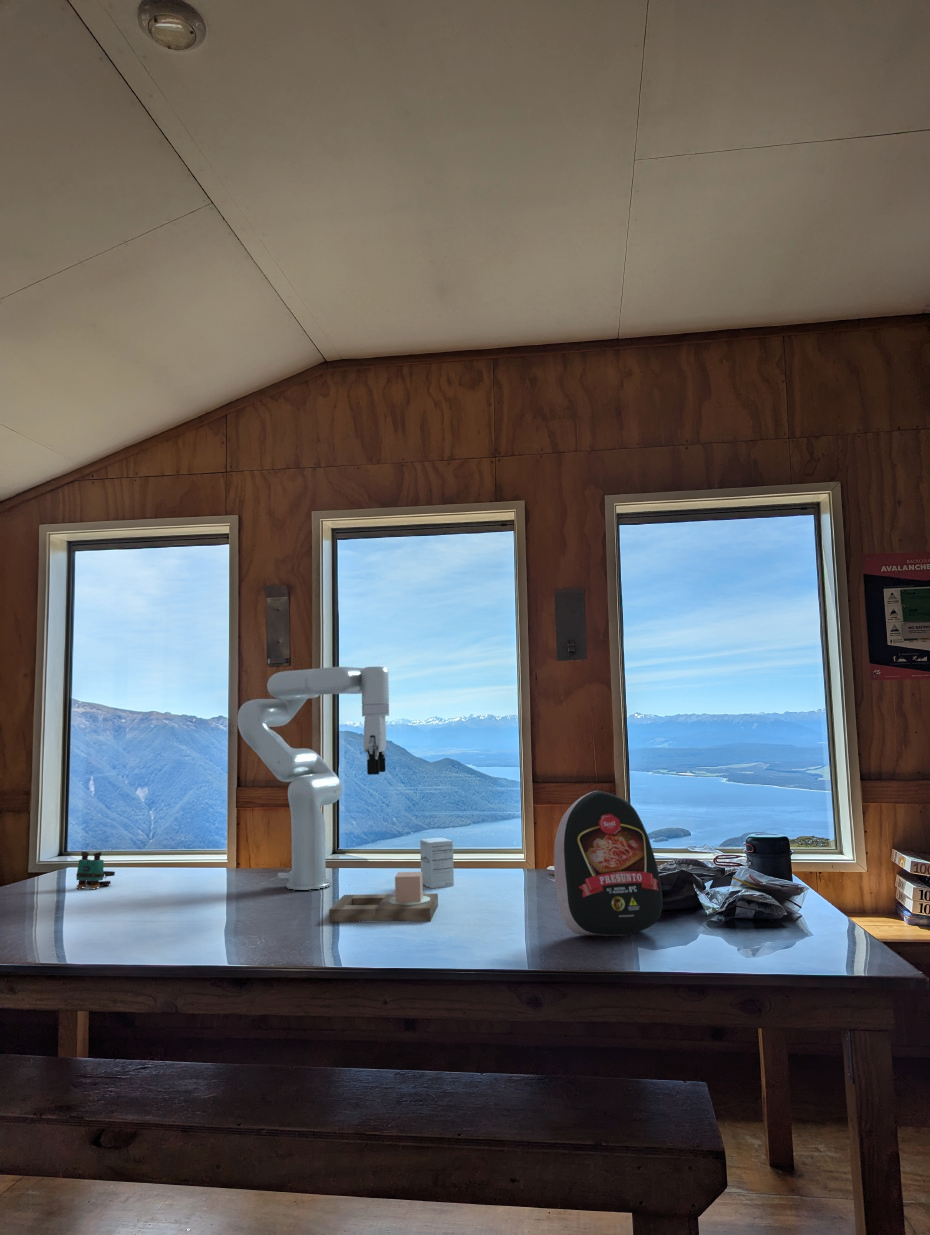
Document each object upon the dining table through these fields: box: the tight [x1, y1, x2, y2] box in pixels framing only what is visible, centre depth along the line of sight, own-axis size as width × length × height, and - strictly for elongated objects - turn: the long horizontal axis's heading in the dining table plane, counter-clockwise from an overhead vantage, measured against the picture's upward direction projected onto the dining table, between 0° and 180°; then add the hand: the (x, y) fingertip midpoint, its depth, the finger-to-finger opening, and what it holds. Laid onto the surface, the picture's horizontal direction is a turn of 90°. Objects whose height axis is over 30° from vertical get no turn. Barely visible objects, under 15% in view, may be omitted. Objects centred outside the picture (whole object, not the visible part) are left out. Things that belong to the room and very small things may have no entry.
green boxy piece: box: [75, 851, 116, 889], centre depth 253 cm, size 9×11×10 cm
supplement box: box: [419, 836, 455, 889], centre depth 241 cm, size 7×7×13 cm
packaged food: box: [553, 790, 663, 937], centre depth 184 cm, size 22×20×30 cm
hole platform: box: [328, 893, 439, 923], centre depth 207 cm, size 24×16×3 cm, turn 86°
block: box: [394, 871, 424, 902], centre depth 207 cm, size 6×6×6 cm
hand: (376, 773), depth 235 cm, fingers open, 9 cm apart
